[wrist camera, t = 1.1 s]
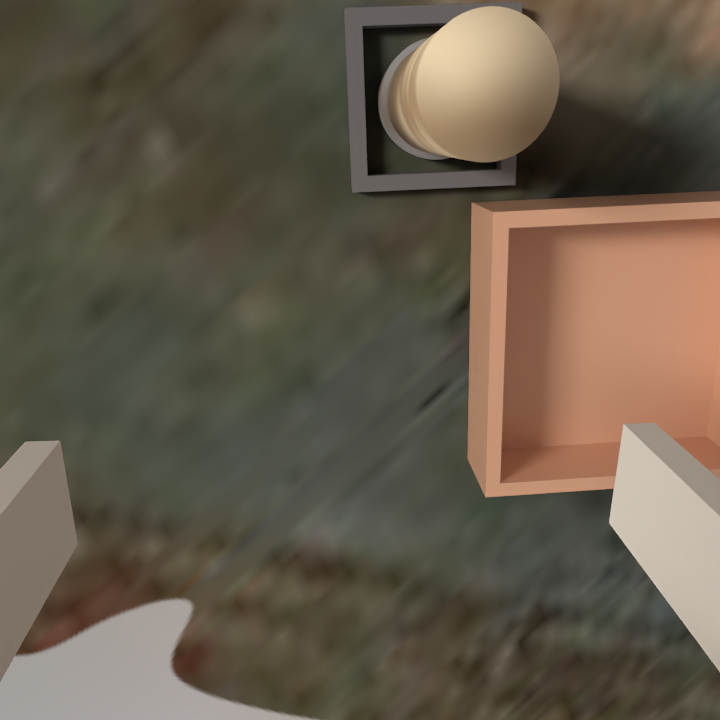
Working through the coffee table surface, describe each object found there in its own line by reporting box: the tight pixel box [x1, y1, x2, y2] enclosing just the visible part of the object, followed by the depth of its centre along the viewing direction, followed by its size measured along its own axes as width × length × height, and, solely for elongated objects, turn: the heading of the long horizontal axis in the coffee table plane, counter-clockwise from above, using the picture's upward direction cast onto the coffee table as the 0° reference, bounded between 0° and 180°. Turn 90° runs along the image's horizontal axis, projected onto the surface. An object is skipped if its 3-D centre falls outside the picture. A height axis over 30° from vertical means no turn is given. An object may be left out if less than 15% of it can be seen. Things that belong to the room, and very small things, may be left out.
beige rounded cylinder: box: [377, 6, 560, 162], centre depth 29 cm, size 6×6×12 cm
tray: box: [468, 191, 720, 497], centre depth 37 cm, size 16×16×5 cm
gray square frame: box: [344, 2, 522, 193], centre depth 34 cm, size 9×9×1 cm
